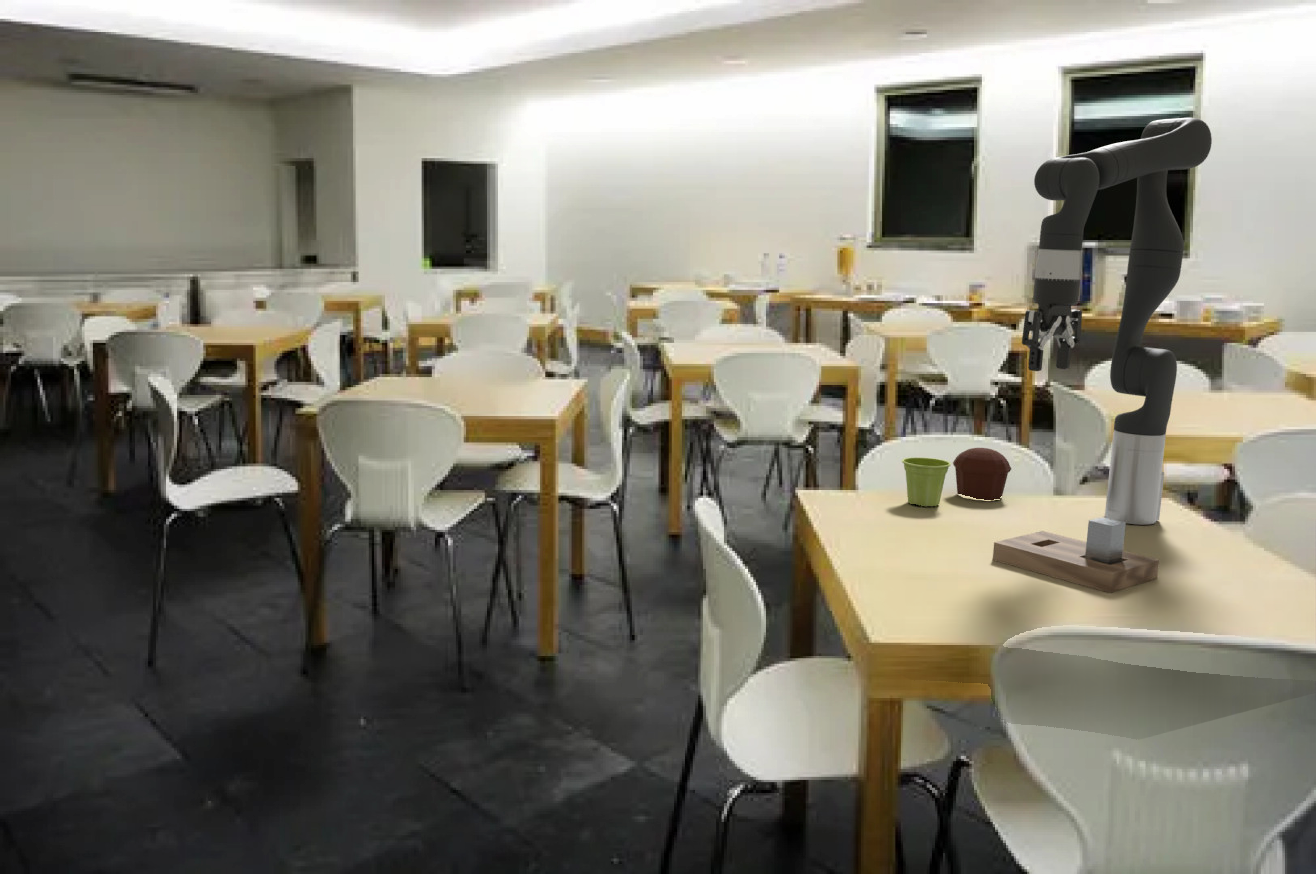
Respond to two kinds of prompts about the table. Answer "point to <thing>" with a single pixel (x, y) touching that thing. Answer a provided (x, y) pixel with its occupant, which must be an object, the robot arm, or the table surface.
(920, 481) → the plant pot
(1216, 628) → the table surface
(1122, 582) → the plate
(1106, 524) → the square bit
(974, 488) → the muffin
